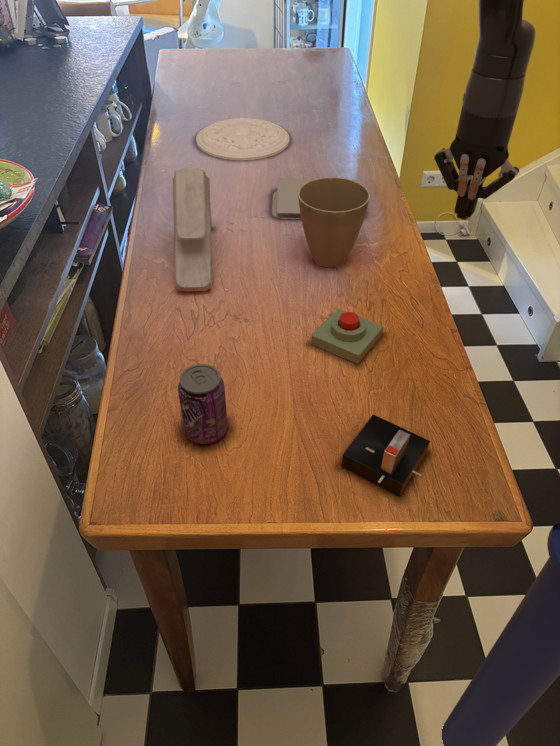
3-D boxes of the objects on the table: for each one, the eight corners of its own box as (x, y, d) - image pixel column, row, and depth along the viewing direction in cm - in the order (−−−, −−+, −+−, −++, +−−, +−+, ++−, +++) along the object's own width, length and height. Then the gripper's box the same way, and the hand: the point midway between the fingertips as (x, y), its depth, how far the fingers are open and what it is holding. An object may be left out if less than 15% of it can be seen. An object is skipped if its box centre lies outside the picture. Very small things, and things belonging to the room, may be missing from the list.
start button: (361, 323, 113) (362, 316, 112) (352, 333, 111) (353, 326, 110) (345, 316, 115) (345, 309, 113) (335, 326, 113) (336, 319, 111)
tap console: (436, 457, 95) (440, 444, 93) (404, 509, 88) (408, 497, 86) (370, 426, 100) (373, 413, 97) (336, 473, 93) (337, 460, 90)
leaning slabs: (184, 308, 142) (172, 285, 119) (182, 207, 144) (169, 165, 121) (217, 307, 142) (210, 283, 119) (214, 207, 145) (207, 165, 122)
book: (273, 189, 159) (273, 175, 156) (360, 190, 159) (361, 176, 156) (271, 218, 148) (271, 204, 145) (365, 220, 148) (366, 206, 145)
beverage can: (178, 422, 100) (169, 370, 91) (217, 408, 102) (212, 356, 94) (193, 453, 95) (186, 400, 87) (234, 437, 98) (231, 385, 89)
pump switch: (382, 335, 116) (384, 319, 114) (357, 364, 110) (359, 348, 108) (337, 316, 120) (338, 300, 118) (311, 344, 114) (312, 327, 112)
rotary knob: (395, 448, 92) (399, 428, 89) (405, 453, 92) (410, 433, 88) (380, 470, 89) (384, 450, 86) (391, 475, 89) (395, 455, 85)
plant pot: (313, 235, 143) (317, 171, 132) (371, 252, 138) (380, 187, 127) (283, 266, 133) (285, 200, 122) (345, 285, 128) (352, 218, 117)
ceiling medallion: (296, 157, 173) (296, 146, 171) (198, 162, 170) (197, 151, 168) (282, 119, 193) (282, 109, 191) (194, 123, 190) (193, 113, 188)
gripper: (545, 107, 84) (511, 219, 96) (455, 87, 89) (433, 196, 101) (529, 124, 79) (495, 239, 91) (435, 103, 84) (414, 214, 96)
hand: (462, 216), depth 96 cm, fingers closed
